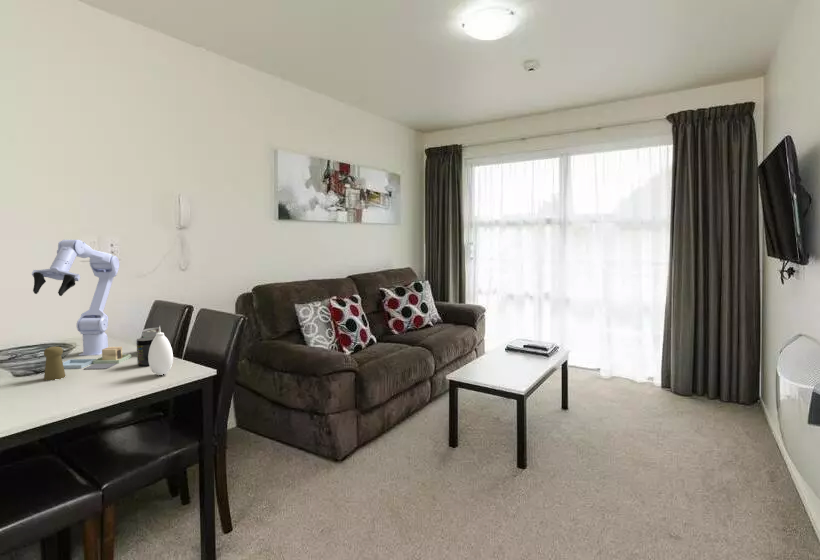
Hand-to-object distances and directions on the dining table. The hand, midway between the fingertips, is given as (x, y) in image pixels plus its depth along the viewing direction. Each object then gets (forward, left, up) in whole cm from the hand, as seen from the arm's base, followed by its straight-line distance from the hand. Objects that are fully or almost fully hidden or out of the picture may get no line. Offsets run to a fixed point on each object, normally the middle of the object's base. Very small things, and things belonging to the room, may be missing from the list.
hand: (47, 293), depth 163 cm
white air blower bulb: (+7, +41, -29) cm, 51 cm away
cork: (+8, +6, -29) cm, 31 cm away
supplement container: (-7, +30, -29) cm, 43 cm away
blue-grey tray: (-8, +4, -29) cm, 30 cm away
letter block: (-14, +14, -29) cm, 35 cm away
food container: (-28, +22, -29) cm, 46 cm away
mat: (-5, +14, -29) cm, 33 cm away
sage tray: (-14, +14, -29) cm, 35 cm away
